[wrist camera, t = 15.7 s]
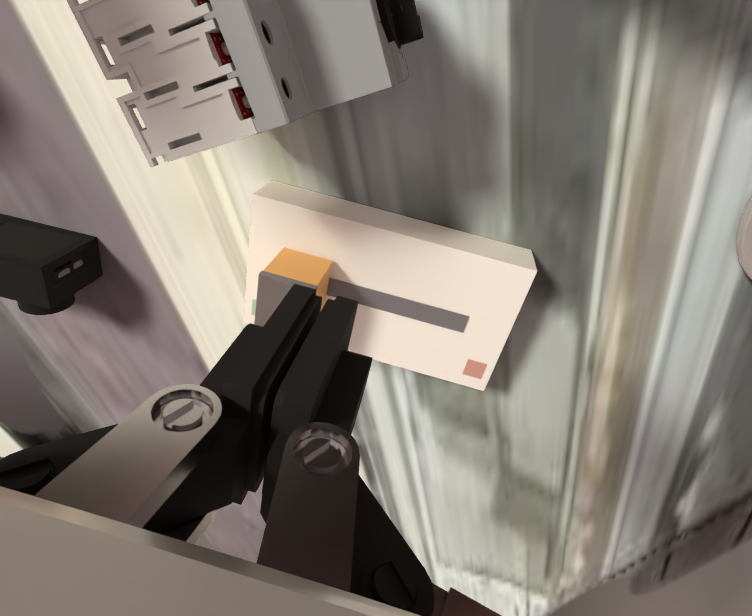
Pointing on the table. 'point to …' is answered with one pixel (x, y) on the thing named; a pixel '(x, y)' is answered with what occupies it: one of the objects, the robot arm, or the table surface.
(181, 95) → the circuit breaker
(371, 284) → the slider base
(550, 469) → the table surface
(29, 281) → the digital camera
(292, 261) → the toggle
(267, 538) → the robot arm
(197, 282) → the table surface
